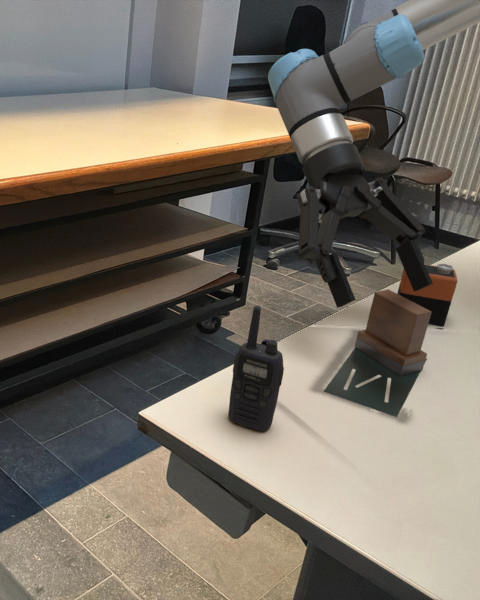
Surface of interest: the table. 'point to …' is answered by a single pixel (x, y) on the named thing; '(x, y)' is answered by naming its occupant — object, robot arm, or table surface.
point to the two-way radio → (255, 380)
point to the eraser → (395, 333)
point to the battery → (433, 292)
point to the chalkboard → (371, 384)
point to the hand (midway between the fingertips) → (386, 295)
